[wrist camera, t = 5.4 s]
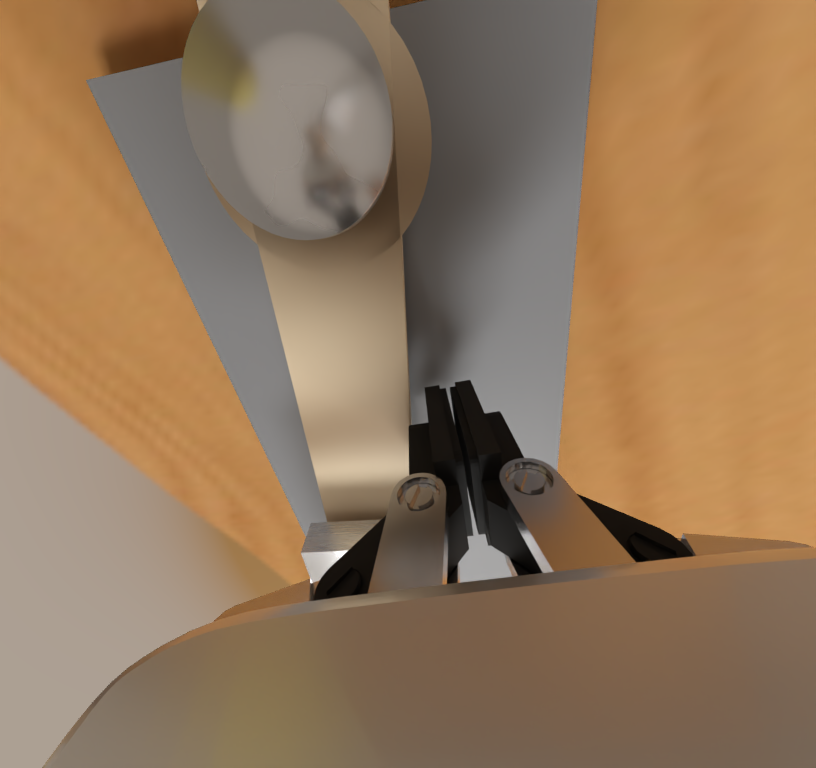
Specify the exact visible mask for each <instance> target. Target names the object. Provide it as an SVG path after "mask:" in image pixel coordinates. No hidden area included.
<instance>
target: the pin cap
mask: <svg viewBox="0 0 816 768" xmlns="http://www.w3.org/2000/svg"><path fill="white" fill-rule="evenodd" d="M181 91H182V102H183V110H184V115H185V120H186V124H187V128H188V132H189V135H190V138H191V141H192V144H193V147H194V149H195V151H196V154H197V156H198V158H199V160H200V163H201V164H202V166H203V168H204V170H205V172H206V173H207V175H208V177H209V178H210V180H211V181H212V183H213V184H214V186H215V187H216V189H217V190H218V191H219V192H220V194H221V195H222V196H223V197H224V198H225V199H226V201H227V202H228V203H229V204H230V205H231V206H232V207H233V208H234V209H235V210H236V211H237V212H238V213H240V214H241V215H242V216H244V217H245V218H246V219H247V220H249V221H250V222H252V223H253V224H255V225H257V226H258V227H260V228H261V229H264V230H266V231H268V232H270V233H272V234H275V235H278V236H281V237H284V238H289V239H295V240H315V239H324V238H328V237H332V236H336V235H338V234H341V233H343V232H345V231H347V230H349V229H350V228H352V227H353V226H355V225H356V224H357V223H359V222H360V221H361V220H362V219H363V218H364V217H365V216H366V215H367V214H368V213H369V212H370V210H371V209H372V208H373V206H374V205H375V203H376V202H377V200H378V199H379V197H380V195H381V193H382V191H383V189H384V186H385V183H386V181H387V178H388V175H389V171H390V166H391V162H392V154H393V138H394V130H393V119H392V110H391V104H390V99H389V94H388V88H387V85H386V81H385V78H384V75H383V72H382V69H381V66H380V64H379V61H378V59H377V57H376V54H375V52H374V50H373V48H372V46H371V44H370V43H369V41H368V39H367V37H366V35H365V34H364V32H363V31H362V30H361V28H360V27H359V25H358V24H357V22H356V21H355V20H354V18H353V17H352V16H351V15H350V14H349V13H348V12H347V11H346V9H345V8H344V7H343V6H342V5H341V4H340V3H339V2H337V1H336V0H208V1H207V2H206V3H205V5H204V6H203V7H202V9H201V10H200V11H199V13H198V15H197V17H196V19H195V21H194V23H193V25H192V27H191V30H190V33H189V36H188V39H187V41H186V46H185V50H184V55H183V61H182V73H181Z"/></svg>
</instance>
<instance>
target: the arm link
mask: <svg viewBox="0 0 816 768" xmlns="http://www.w3.org/2000/svg"><path fill="white" fill-rule="evenodd" d="M196 1H197V5H198V9H199V11H200V10H201V9H202V7H203V6H204V5H205V3H206V2H207V1H208V0H196ZM336 1H337V2H339V3H340V4H341V5H342V6H343V7H344V8H345V9H346V11H347V12H348V13H349V14H350V15H351V16H352V17H353V18H354V20H355V21H356V22H357V24H358V25H359V27H360V28H361V30H362V31H363V32H364V34H365V35H366V37H367V39H368V41H369V43H370V44H371V46H372V48H373V50H374V52H375V54H376V57H377V59H378V61H379V64H380V66H381V69H382V72H383V75H384V78H385V81H386V85H387V88H388V94H389V99H390V104H391V110H392V119H393V130H394V138H393V154H392V162H391V166H390V171H389V175H388V178H387V181H386V183H385V186H384V189H383V191H382V193H381V195H380V197H379V199H378V200H377V202H376V203H375V205H374V206H373V208H372V209H371V210H370V212H369V213H368V214H367V215H366V216H365V217H364V218H363V219H362V220H361V221H360V222H359V223H357V224H356V225H355V226H353V227H352V228H350V229H349V230H347V231H345V232H343V233H341V234H338V235H336V236H332V237H328V238H324V239H315V240H295V239H289V238H284V237H281V236H278V235H275V234H272V233H270V232H268V231H266V230H264V229H261V228H260V227H258V226H257V225H255V224H253V223H252V222H250V221H249V220H247V219H246V218H245V217H244V216H242V215H241V214H240V213H238V212H237V211H236V210H235V209H234V208H233V207H232V206H231V205H230V204H229V203H228V202H227V201H226V199H225V198H224V197H223V196H222V195H221V194H220V192H219V191H218V190H217V189H216V187H215V186H214V184H213V183H212V181H211V180H210V178H209V177H208V175H207V173H206V175H207V177H208V179H209V181H210V183H211V186H212V188H213V190H214V192H215V193H216V195H217V197H218V199H219V200H220V202H221V204H222V205H223V207H224V208H225V210H226V211H227V212H228V214H229V215H230V217H231V218H232V219H233V221H234V222H235V223H236V224H237V225H238V226H239V227H240V228H241V230H242V231H243V232H244V233H245V234H246V235H247V236H248V237H250V238H251V239H252V240H253V241H254V242H255V243H256V244H258V248H259V252H260V256H261V260H262V264H263V268H264V272H265V276H266V280H267V284H268V288H269V292H270V296H271V300H272V304H273V308H274V312H275V316H276V320H277V324H278V328H279V332H280V336H281V340H282V344H283V348H284V352H285V356H286V360H287V364H288V368H289V372H290V376H291V380H292V384H293V388H294V392H295V396H296V400H297V404H298V408H299V412H300V416H301V420H302V424H303V428H304V432H305V436H306V440H307V444H308V448H309V452H310V456H311V460H312V464H313V467H314V471H315V475H316V479H317V483H318V487H319V491H320V495H321V499H322V503H323V507H324V511H325V515H326V519H327V522H340V521H359V520H379V519H382V518H383V517H385V516H386V515H387V511H388V506H389V502H390V498H391V494H392V491H393V489H394V487H395V486H396V485H397V483H398V482H399V481H400V480H402V479H403V478H405V477H407V476H409V425H412V420H411V400H410V380H409V361H408V341H407V321H406V301H405V282H404V262H403V242H402V235H403V233H404V232H405V231H406V229H407V228H408V226H409V225H410V223H411V222H412V220H413V218H414V216H415V214H416V212H417V210H418V208H419V206H420V203H421V200H422V198H423V195H424V192H425V188H426V184H427V181H428V176H429V170H430V163H431V148H432V136H431V120H430V115H429V109H428V103H427V98H426V95H425V91H424V87H423V84H422V80H421V78H420V75H419V73H418V70H417V68H416V65H415V63H414V60H413V58H412V56H411V55H410V53H409V51H408V49H407V47H406V45H405V43H404V41H403V40H402V38H401V37H400V36H399V34H398V33H397V31H396V30H395V28H394V27H393V25H392V24H391V20H390V8H389V0H336Z"/></svg>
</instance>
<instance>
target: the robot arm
mask: <svg viewBox="0 0 816 768" xmlns="http://www.w3.org/2000/svg"><path fill="white" fill-rule="evenodd" d="M424 388H425V397H426V406H427V415H428V423H421V424H415V425H409V476H407V477H405V478H403V479H402V480H400V481H399V482H398V483H397V485H396V486H395V487H394V489H393V491H392V494H391V498H390V502H389V506H388V511H387V515H386V516H385V517H383V518H382V519H381V520H380V521H379V522H378V523H377V524H376V525H375V526H374V527H373V528H372V529H371V530H370V531H369V532H367V533H366V534H365V535H364V536H363V537H362V538H361V539H360V540H359V541H358V542H357V543H356V544H355V545H354V546H353V547H351V548H350V549H349V550H348V551H347V552H346V553H345V554H344V555H343V556H342V557H341V558H340V559H339V560H338V561H336V562H335V563H334V564H333V565H332V566H331V567H330V568H329V569H328V570H327V571H326V573H325V574H324V575H323V576H322V577H321V579H320V580H319V581H316V582H313V583H312V581H311V579H308V580H305V581H303V582H300V583H297V584H294V585H291V586H289V587H286V588H283V589H280V590H278V591H275V592H272V593H269V594H266V595H264V596H261V597H258V598H255V599H253V600H250V601H247V602H244V603H242V604H239V605H236V606H234V607H232V608H230V609H228V610H226V611H225V612H224V613H222V614H221V615H220V616H219V617H218V618H217V619H216V620H214V622H212V623H209V624H206V625H204V626H201V627H199V628H196V629H194V630H192V631H189V632H187V633H185V634H183V635H181V636H179V637H177V638H175V639H174V640H172V641H170V642H168V643H166V644H164V645H162V646H160V647H159V648H157V649H155V650H154V651H152V652H151V653H149V654H147V655H146V656H144V657H143V658H141V659H140V660H138V661H137V662H136V663H134V664H133V665H131V666H130V667H128V668H127V669H126V670H125V671H124V672H122V673H121V674H120V675H119V676H118V677H117V678H115V679H114V680H113V681H112V682H111V683H110V684H109V685H108V686H107V687H106V688H105V689H104V690H103V691H102V692H101V694H100V695H99V696H98V697H97V698H96V699H95V700H94V701H93V702H92V704H91V705H90V706H89V707H88V708H87V710H86V711H85V712H84V713H83V715H82V716H81V717H80V718H79V720H78V721H77V722H76V723H75V725H74V726H73V727H72V728H71V730H70V731H69V732H68V733H67V735H66V736H65V737H64V739H63V740H62V742H61V743H60V744H59V745H58V747H57V748H56V750H55V751H54V752H53V754H52V755H51V756H50V758H49V759H48V760H47V762H46V763H45V765H44V766H43V767H42V768H816V548H814V547H811V546H808V545H806V544H801V543H795V542H790V541H779V540H766V539H752V538H738V537H725V536H711V535H698V534H684V533H683V535H682V538H675V537H674V536H673V535H671V534H669V533H667V532H665V531H664V530H662V529H660V528H658V527H655V526H653V525H650V524H648V523H646V522H643V521H641V520H638V519H636V518H634V517H631V516H629V515H626V514H624V513H622V512H619V511H617V510H614V509H612V508H610V507H607V506H605V505H602V504H600V503H598V502H595V501H593V500H590V499H588V498H586V497H583V496H581V495H578V494H576V493H575V491H574V490H573V489H572V488H571V487H570V486H569V485H568V483H567V482H566V481H565V480H564V479H563V478H562V476H561V475H560V474H559V473H558V472H557V471H556V470H555V469H554V468H553V467H552V466H551V465H549V464H547V463H545V462H543V461H541V460H537V459H534V458H524V456H523V454H522V452H521V450H520V448H519V446H518V444H517V443H516V441H515V439H514V437H513V435H512V433H511V431H510V429H509V427H508V425H507V423H506V421H505V419H504V417H503V416H502V414H501V412H500V411H497V412H490V413H484V411H483V408H482V406H481V404H480V401H479V399H478V397H477V394H476V392H475V390H474V387H473V385H472V383H471V380H466V381H460V382H455V386H454V387H450V394H451V401H452V408H453V415H454V419H453V415H452V411H451V407H450V403H449V399H448V395H447V391H446V388H442V389H440V387H439V385H436V386H430V387H424ZM454 422H455V423H454ZM467 489H468V491H467ZM468 493H469V497H470V501H471V506H472V510H473V514H474V518H475V522H476V527H477V531H478V534H479V535H482V534H485V535H486V539H487V543H488V546H492V547H494V548H496V549H497V550H499V551H500V552H502V553H503V554H505V559H506V563H507V565H508V568H509V570H510V572H511V574H512V576H513V577H504V578H496V579H487V580H478V581H470V582H461V583H460V567H459V561H460V560H461V559H462V557H463V556H464V555H465V554H466V552H467V551H468V550H469V544H468V538H467V536H473V528H472V520H471V513H470V505H469V498H468Z"/></svg>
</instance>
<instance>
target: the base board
mask: <svg viewBox="0 0 816 768" xmlns="http://www.w3.org/2000/svg"><path fill="white" fill-rule="evenodd" d="M596 10H597V0H425V1H421V2H417V3H412V4H408V5H404V6H400V7H395V8H391V9H390V20H391V24H392V25H393V27H394V28H395V30H396V31H397V33H398V34H399V36H400V37H401V38H402V40H403V41H404V43H405V45H406V47H407V49H408V51H409V53H410V55H411V56H412V58H413V60H414V63H415V65H416V68H417V70H418V73H419V75H420V78H421V80H422V84H423V87H424V91H425V95H426V98H427V103H428V109H429V115H430V120H431V136H432V148H431V163H430V170H429V176H428V181H427V184H426V188H425V192H424V195H423V198H422V200H421V203H420V206H419V208H418V210H417V212H416V214H415V216H414V218H413V220H412V222H411V223H410V225H409V226H408V228H407V229H406V231H405V232H404V233H403V235H402V242H403V262H404V282H405V301H406V321H407V341H408V361H409V380H410V400H411V420H412V425H415V424H421V423H428V415H427V406H426V397H425V388H424V387H430V386H436V385H439V387H440V389H442V388H446V391H447V395H448V399H449V403H450V407H451V411H452V415H453V408H452V401H451V394H450V387H454V386H455V382H460V381H466V380H471V383H472V385H473V387H474V390H475V392H476V394H477V397H478V399H479V401H480V404H481V406H482V408H483V411H484V413H490V412H497V411H500V412H501V414H502V416H503V417H504V419H505V421H506V423H507V425H508V427H509V429H510V431H511V433H512V435H513V437H514V439H515V441H516V443H517V444H518V446H519V448H520V450H521V452H522V454H523V456H524V458H534V459H537V460H541V461H543V462H545V463H547V464H549V465H551V466H552V467H553V468H554V469H555V470H556V471H557V466H558V455H559V443H560V431H561V420H562V408H563V396H564V385H565V373H566V361H567V349H568V338H569V326H570V314H571V303H572V291H573V279H574V268H575V256H576V244H577V233H578V221H579V209H580V197H581V186H582V174H583V162H584V151H585V139H586V127H587V116H588V104H589V92H590V80H591V69H592V57H593V45H594V34H595V22H596ZM182 61H183V58H178V59H174V60H170V61H166V62H161V63H157V64H153V65H149V66H144V67H140V68H136V69H132V70H127V71H123V72H119V73H115V74H110V75H106V76H102V77H98V78H93V79H89V80H86V81H87V83H88V85H89V87H90V90H91V92H92V94H93V96H94V98H95V100H96V102H97V104H98V106H99V108H100V110H101V112H102V114H103V117H104V119H105V121H106V123H107V125H108V127H109V129H110V131H111V133H112V135H113V137H114V139H115V142H116V144H117V146H118V148H119V150H120V152H121V154H122V156H123V158H124V160H125V162H126V164H127V166H128V169H129V171H130V173H131V175H132V177H133V179H134V181H135V183H136V185H137V187H138V189H139V191H140V193H141V196H142V198H143V200H144V202H145V204H146V206H147V208H148V210H149V212H150V214H151V216H152V218H153V220H154V223H155V225H156V227H157V229H158V231H159V233H160V235H161V237H162V239H163V241H164V243H165V245H166V247H167V250H168V252H169V254H170V256H171V258H172V260H173V262H174V264H175V266H176V268H177V270H178V272H179V274H180V277H181V279H182V281H183V283H184V285H185V287H186V289H187V291H188V293H189V295H190V297H191V299H192V301H193V304H194V306H195V308H196V310H197V312H198V314H199V316H200V318H201V320H202V322H203V324H204V326H205V328H206V331H207V333H208V335H209V337H210V339H211V341H212V343H213V345H214V347H215V349H216V351H217V353H218V355H219V358H220V360H221V362H222V364H223V366H224V368H225V370H226V372H227V374H228V376H229V378H230V380H231V382H232V385H233V387H234V389H235V391H236V393H237V395H238V397H239V399H240V401H241V403H242V405H243V407H244V409H245V412H246V414H247V416H248V418H249V420H250V422H251V424H252V426H253V428H254V430H255V432H256V434H257V436H258V439H259V441H260V443H261V445H262V447H263V449H264V451H265V453H266V455H267V457H268V459H269V461H270V463H271V466H272V468H273V470H274V472H275V474H276V476H277V478H278V480H279V482H280V484H281V486H282V488H283V490H284V493H285V495H286V497H287V499H288V501H289V503H290V505H291V507H292V509H293V511H294V513H295V515H296V517H297V520H298V522H299V524H300V526H301V528H302V530H303V532H304V534H305V536H307V533H308V530H309V527H310V524H311V523H320V522H327V519H326V515H325V511H324V507H323V503H322V499H321V495H320V491H319V487H318V483H317V479H316V475H315V471H314V467H313V464H312V460H311V456H310V452H309V448H308V444H307V440H306V436H305V432H304V428H303V424H302V420H301V416H300V412H299V408H298V404H297V400H296V396H295V392H294V388H293V384H292V380H291V376H290V372H289V368H288V364H287V360H286V356H285V352H284V348H283V344H282V340H281V336H280V332H279V328H278V324H277V320H276V316H275V312H274V308H273V304H272V300H271V296H270V292H269V288H268V284H267V280H266V276H265V272H264V268H263V264H262V260H261V256H260V252H259V248H258V244H256V243H255V242H254V241H253V240H252V239H251V238H250V237H248V236H247V235H246V234H245V233H244V232H243V231H242V230H241V228H240V227H239V226H238V225H237V224H236V223H235V222H234V221H233V219H232V218H231V217H230V215H229V214H228V212H227V211H226V210H225V208H224V207H223V205H222V204H221V202H220V200H219V199H218V197H217V195H216V193H215V192H214V190H213V188H212V186H211V183H210V181H209V179H208V177H207V175H206V172H205V170H204V168H203V166H202V164H201V163H200V160H199V158H198V156H197V154H196V151H195V149H194V147H193V144H192V141H191V138H190V135H189V132H188V128H187V124H186V120H185V115H184V110H183V102H182V91H181V73H182ZM453 419H454V415H453ZM454 423H455V422H454ZM467 491H468V489H467ZM468 498H469V505H470V513H471V520H472V528H473V536H467V538H468V544H469V550H468V551H467V552H466V554H465V555H464V556H463V557H462V559H461V560H460V561H459V567H460V583H461V582H470V581H478V580H487V579H496V578H504V577H513V576H512V574H511V572H510V570H509V568H508V565H507V563H506V559H505V554H503V553H502V552H500V551H499V550H497V549H496V548H494V547H492V546H488V543H487V539H486V535H485V534H482V535H479V534H478V531H477V527H476V522H475V518H474V514H473V510H472V506H471V501H470V497H469V493H468Z"/></svg>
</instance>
